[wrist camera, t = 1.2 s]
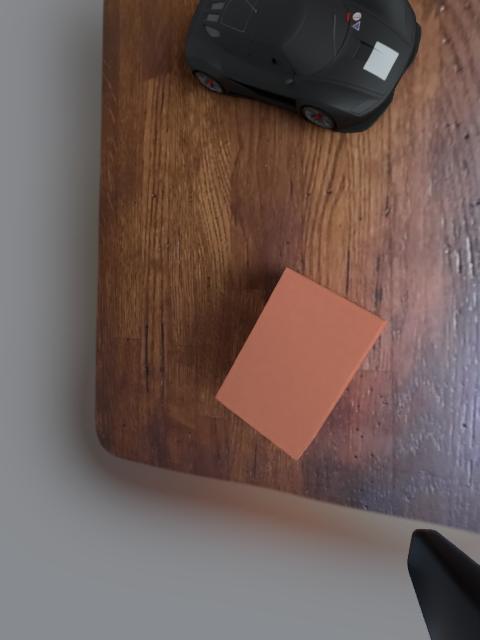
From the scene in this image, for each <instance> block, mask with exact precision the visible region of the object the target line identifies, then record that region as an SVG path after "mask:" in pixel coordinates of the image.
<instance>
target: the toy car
mask: <svg viewBox="0 0 480 640" xmlns="http://www.w3.org/2000/svg"><path fill="white" fill-rule="evenodd" d="M420 37H421V27H420V25H419V24H418V23H417V22H416V16H415V13H414V11H413V9H412V7H411V5H410V4H409V2H408V0H200V2H199V5H198V7H197V9H196V11H195V14H194V17H193V19H192V22H191V25H190V28H189V31H188V35H187V39H186V45H185V58H186V61H187V63H188V65H189V67H190V70H191V72H192V74H193V75H194V77H196V78H197V79H198V80H199V81H200V82H201V83H202V84H203V85H204V86H206V87H207V88H209V89H210V90H212V91H214V92H217V93H223V92H224V90H225V91H226V93H225V94H227V95H232V96H237V97H243V98H248V99H253V100H259V101H263V102H266V103H269V104H273V105H276V106H279V107H282V108H286V109H289V110H291V111H294V112H296V113H299V114H300V115H301V116H302V117H303V118H304V119H305V120H306V121H307V120H309V121H311V122H312V123H314V124H316V125H318V126H320V127H323V128H333V127H334V125H335V124H337V131H340V132H360V131H364V130H367V129H368V128H370V127H371V126H372V125H373V124H374V123H375V122H376V121H377V120H378V119H379V118H380V116H381V115H382V114H383V113H384V112H385V110H386V109H387V108H388V107H389V105H390V104H391V102H392V100H393V96H394V91H395V90H394V89H395V88H396V86H397V84H398V82H399V81H400V79H401V77H402V75H403V73H405V72H406V70H407V69H408V68H409V67H410V66H411V65H412V64H413V62H414V59H415V56H416V53H417V50H418V46H419V42H420ZM353 112H354V113H353Z"/></svg>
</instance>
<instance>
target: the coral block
mask: <svg viewBox="0 0 480 640" xmlns="http://www.w3.org/2000/svg"><path fill="white" fill-rule="evenodd" d="M387 323H388V321H387V320H385V319H383V318H381V317H379V316H377V315H376V314H374V313H372V312H370V311H368V310H366V309H364V308H363V307H361V306H359V305H357V304H355V303H353V302H351V301H350V300H348V299H346V298H344V297H342V296H340V295H339V294H337V293H335V292H333V291H331V290H329V289H327V288H326V287H324V286H322V285H320V284H318V283H316V282H314V281H313V280H311V279H309V278H307V277H305V276H303V275H301V274H299V273H297V272H295V271H293V270H291V269H289V268H286V269H285V271H284V272H283V274H282V276H281V278H280V280H279V282H278V283H277V285H276V287H275V289H274V291H273V293H272V294H271V296H270V298H269V300H268V302H267V304H266V305H265V307H264V309H263V311H262V313H261V314H260V316H259V318H258V320H257V322H256V324H255V325H254V327H253V329H252V331H251V333H250V335H249V336H248V338H247V340H246V342H245V344H244V346H243V347H242V349H241V351H240V353H239V355H238V357H237V358H236V360H235V362H234V364H233V366H232V368H231V369H230V371H229V373H228V375H227V377H226V378H225V380H224V382H223V384H222V386H221V388H220V389H219V391H218V393H217V395H216V397H215V398H216V399H217V400H218V401H220V402H221V403H222V404H223V405H225V406H226V407H227V408H229V409H230V410H231V411H232V412H234V413H235V414H236V415H238V416H239V417H240V418H242V419H243V420H244V421H245V422H247V423H248V424H249V425H251V426H252V427H253V428H254V429H256V430H257V431H258V432H260V433H261V434H262V435H264V436H265V437H266V438H267V439H269V440H270V441H271V442H273V443H274V444H275V445H277V446H278V447H279V448H280V449H282V450H283V451H284V452H286V453H287V454H288V455H289V456H291V457H292V458H293V459H295V460H296V461H297V460H298V459H299V458H300V456H301V455H302V454H303V453H304V451H305V450H306V449H307V447H308V446H309V445H310V444H311V442H312V441H313V440H314V438H315V437H316V435H317V433H318V432H319V430H320V429H321V427H322V426H323V424H324V422H325V421H326V419H327V418H328V416H329V415H330V413H331V411H332V410H333V408H334V407H335V405H336V403H337V402H338V400H339V399H340V397H341V396H342V394H343V392H344V391H345V389H346V388H347V386H348V384H349V383H350V381H351V380H352V378H353V377H354V375H355V373H356V372H357V370H358V369H359V367H360V366H361V364H362V362H363V361H364V359H365V358H366V356H367V354H368V353H369V351H370V350H371V348H372V347H373V345H374V343H375V342H376V340H377V339H378V337H379V336H380V334H381V332H382V331H383V329H384V328H385V326H386V324H387Z"/></svg>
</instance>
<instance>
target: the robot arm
mask: <svg viewBox="0 0 480 640" xmlns="http://www.w3.org/2000/svg"><path fill="white" fill-rule="evenodd" d="M408 570H409V574H410V577H411V580H412V583H413V586H414V589H415V592H416V595H417V598H418V602H419V605H420V608H421V611H422V614H423V617H424V620H425V623H426V626H427V629H428V632H429V635H430V638H431V640H480V565H478V564H477V563H476V562H475V561H474V560H472V559H471V558H470V557H469V556H467V555H466V554H465V553H464V552H462V551H461V550H460V549H459V548H457V547H456V546H455V545H454V544H452V543H451V542H450V541H448V540H447V539H446V538H445V537H443V536H442V535H441V534H440V533H438V532H437V531H435V530H430V529H429V530H428V529H427V530H426V529H416V530H415V531H414V532H413V534H412V539H411V543H410V549H409V555H408Z"/></svg>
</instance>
